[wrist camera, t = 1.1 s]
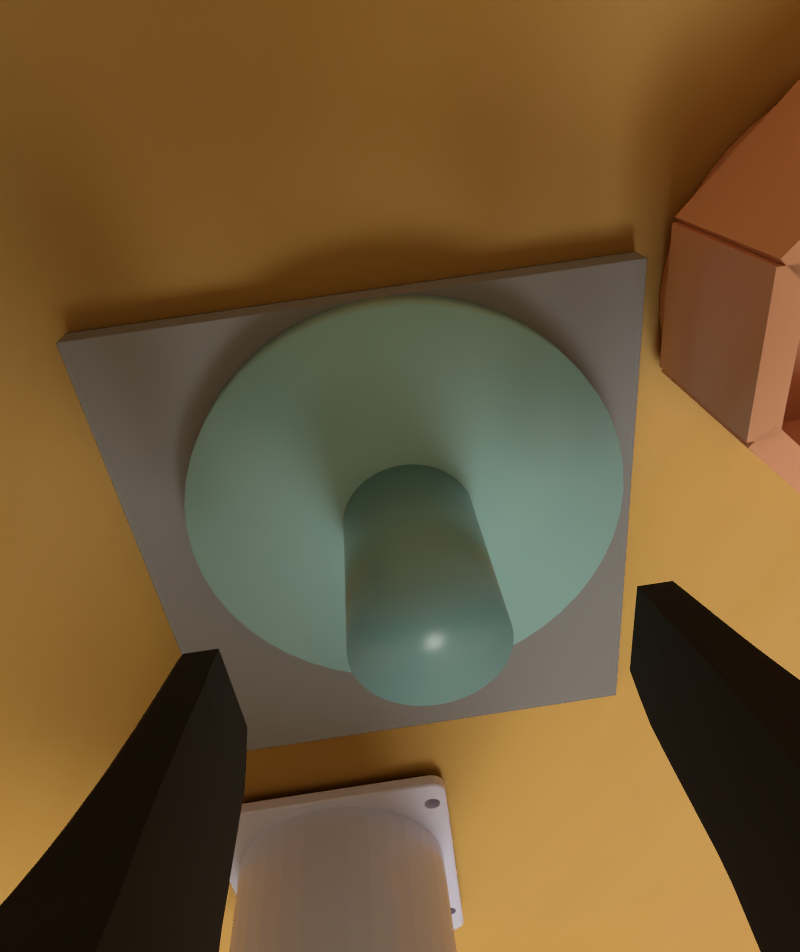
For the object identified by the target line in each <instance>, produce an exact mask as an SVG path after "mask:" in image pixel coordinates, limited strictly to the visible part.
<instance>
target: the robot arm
mask: <svg viewBox="0 0 800 952" xmlns="http://www.w3.org/2000/svg"><path fill="white" fill-rule="evenodd" d="M630 672H631V674H632V677H633V680H634V682H635V685H636V688H637V691H638V693H639V696H640V699H641V701H642V704H643V706H644V709H645V711H646V714H647V717H648V719H649V722H650V724H651V726H652V728H653V730H654V732H655V734H656V736H657V738H658V740H659V742H660V744H661V746H662V748H663V750H664V752H665V754H666V756H667V758H668V760H669V761H670V763H671V765H672V767H673V769H674V771H675V773H676V775H677V777H678V779H679V781H680V782H681V784H682V786H683V788H684V790H685V792H686V794H687V796H688V798H689V799H690V801H691V803H692V805H693V807H694V809H695V811H696V813H697V815H698V817H699V818H700V820H701V822H702V824H703V826H704V828H705V830H706V832H707V834H708V836H709V837H710V839H711V841H712V843H713V845H714V847H715V849H716V851H717V853H718V855H719V857H720V859H721V861H722V863H723V865H724V867H725V869H726V871H727V873H728V876H729V878H730V880H731V882H732V884H733V886H734V889H735V891H736V894H737V896H738V898H739V901H740V903H741V906H742V908H743V910H744V913H745V915H746V918H747V920H748V922H749V925H750V927H751V929H752V932H753V934H754V937H755V939H756V941H757V944H758V946H759V949H760V951H761V952H800V680H799V679H797V678H796V677H795V676H793V675H792V674H791V673H789V672H788V671H787V670H785V669H784V668H783V667H781V666H780V665H779V664H777V663H776V662H775V661H773V660H772V659H771V658H769V657H768V656H767V655H765V654H764V653H763V652H761V651H760V650H759V649H757V648H756V647H755V646H754V645H752V644H751V643H750V642H748V641H747V640H746V639H744V638H743V637H742V636H741V635H739V634H738V633H737V632H736V631H734V630H733V629H732V628H731V627H729V626H728V625H727V624H726V623H724V622H723V621H722V620H721V619H719V618H718V617H717V616H716V615H714V614H713V613H712V612H711V611H709V610H708V609H707V608H706V607H704V606H703V605H702V604H701V603H699V602H698V601H697V600H696V599H694V598H693V597H692V596H691V595H690V594H688V593H687V592H686V591H684V590H683V589H682V588H681V587H679V586H678V585H677V584H676V583H674V582H673V581H670V582H663V583H656V584H650V585H643V586H637V596H636V607H635V618H634V630H633V641H632V652H631V663H630ZM246 753H247V725H246V722H245V719H244V716H243V714H242V711H241V708H240V705H239V703H238V700H237V697H236V695H235V692H234V689H233V686H232V684H231V681H230V678H229V675H228V673H227V670H226V667H225V664H224V662H223V659H222V656H221V653H220V651H219V649H212V650H205V651H198V652H192V653H185V654H183V655H182V656H181V657H180V658H179V660H178V661H177V663H176V664H175V666H174V668H173V669H172V671H171V672H170V674H169V675H168V677H167V679H166V680H165V682H164V684H163V685H162V687H161V688H160V690H159V692H158V693H157V695H156V696H155V698H154V700H153V701H152V703H151V704H150V706H149V707H148V709H147V711H146V712H145V714H144V715H143V717H142V718H141V720H140V721H139V723H138V725H137V726H136V728H135V729H134V731H133V732H132V734H131V735H130V737H129V738H128V740H127V741H126V743H125V744H124V745H123V747H122V748H121V750H120V751H119V753H118V754H117V756H116V757H115V759H114V760H113V762H112V763H111V765H110V766H109V768H108V769H107V771H106V772H105V774H104V775H103V776H102V778H101V779H100V781H99V782H98V783H97V785H96V786H95V787H94V789H93V790H92V791H91V793H90V794H89V796H88V797H87V798H86V800H85V801H84V802H83V804H82V805H81V806H80V808H79V809H78V810H77V812H76V813H75V815H74V816H73V817H72V819H71V820H70V821H69V823H68V824H67V825H66V827H65V828H64V829H63V831H62V832H61V833H60V834H59V836H58V837H57V838H56V839H55V841H54V842H53V843H52V845H51V846H50V847H49V848H48V850H47V851H46V852H45V853H44V855H43V856H42V857H41V858H40V859H39V861H38V862H37V863H36V864H35V866H34V867H33V868H32V869H31V870H30V872H29V873H28V874H27V875H26V876H25V877H24V879H23V880H22V881H21V882H20V883H19V885H18V886H17V887H16V888H15V889H14V891H13V892H12V893H11V894H10V895H9V896H8V897H7V899H6V900H5V901H4V902H3V903H2V904H1V905H0V952H219V945H220V938H221V930H222V923H223V917H224V911H225V905H226V899H227V893H228V887H229V882H230V884H231V886H232V888H233V890H234V892H235V894H236V902H235V910H234V918H233V927H232V935H231V944H230V952H457V951H456V944H455V937H454V930H455V929H457V928H459V927H460V926H461V925H462V924H463V914H462V907H461V900H460V892H459V885H458V878H457V870H456V863H455V856H454V849H453V841H452V834H451V827H450V820H449V812H448V805H447V798H446V791H445V784H444V781H443V779H441V778H440V777H438V776H434V775H427V776H420V777H414V778H407V779H401V780H394V781H388V782H381V783H374V784H368V785H361V786H355V787H348V788H342V789H335V790H329V791H322V792H315V793H309V794H302V795H296V796H289V797H283V798H276V799H269V800H263V801H256V802H250V803H243V804H242V802H243V795H244V788H245V773H246Z"/></svg>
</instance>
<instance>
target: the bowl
mask: <svg viewBox="0 0 800 952" xmlns="http://www.w3.org/2000/svg"><path fill="white" fill-rule="evenodd" d="M675 217H676V218H677V219H678V220H679V221H680V222H675V223H672V232H671V244H670V248H669V252H668V255H667V259H666V263H665V266H664V270H663V276H662V283H661V290H660V310H659V318H660V327H661V335H662V346H661V357H660V367H661V368H662V370H661V371H662V372H663V373H664V374H665V375H666V376H667V377H669V378H670V379H671V380H672V381H673V382H674V383H675V384H676V385H678V386H679V387H680V388H681V389H682V390H683V391H684V392H685V393H687V394H688V395H689V396H690V397H691V398H692V399H693V400H694V401H696V402H697V403H698V404H699V405H700V406H701V407H702V408H703V409H705V410H706V411H707V412H708V413H709V414H710V415H711V416H712V417H714V418H715V419H716V420H717V421H718V422H719V423H720V424H721V425H723V426H724V427H725V428H726V429H727V430H728V431H729V432H730V433H732V434H733V435H734V436H735V437H736V438H737V439H738V440H739V441H740V442H742V443H743V444H744V445H745V446H746V447H747V448H748V449H750V450H751V451H752V452H753V453H754V454H755V455H756V456H758V457H759V458H760V459H761V460H762V461H763V462H764V463H766V464H767V465H768V466H769V467H770V468H771V469H772V470H774V471H775V472H776V473H777V474H778V475H779V476H781V477H782V478H783V479H784V480H785V481H786V482H787V483H789V484H790V485H791V486H792V487H793V488H794V489H795V490H797V491H798V492H799V493H800V79H799V80H798V81H797V82H796V84H795V85H794V86H793V87H792V88H791V89H790V90H789V91H788V92H787V94H786V95H785V96H784V97H783V98H782V99H781V100H780V101H779V102H778V103H777V105H776V106H774V107H773V108H772V109H770V110H769V111H768V112H767V113H766V114H764V115H763V116H762V117H761V118H759V119H758V120H757V121H756V122H755V123H753V124H752V125H751V126H750V127H749V128H748V129H747V130H746V131H745V132H744V133H743V134H742V135H741V136H740V137H739V138H738V139H737V140H736V141H735V142H734V143H733V144H732V145H731V146H730V147H729V148H728V149H727V150H726V152H725V153H724V154H723V155H722V156H721V158H720V159H719V160H718V161H717V163H716V164H715V165H714V166H713V167H712V169H711V170H710V171H709V173H708V174H707V176H706V177H705V179H704V180H703V182H702V183H701V185H700V186H699V188H698V189H697V191H696V192H695V194H694V195H693V197H692V198H691V199H690V201H689V202H688V203H687V204H686V205H685V206H684V207H683V208H682V209H681V210H680V212H679V213H678V214H677V215H676V216H675Z"/></svg>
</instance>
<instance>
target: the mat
mask: <svg viewBox="0 0 800 952" xmlns="http://www.w3.org/2000/svg"><path fill="white" fill-rule="evenodd" d="M646 266H647V258H646V257H644V256H642V255H640V254H639V253H637V252H630V253H623V254H616V255H609V256H602V257H595V258H588V259H581V260H574V261H567V262H560V263H553V264H546V265H539V266H532V267H525V268H518V269H511V270H504V271H497V272H490V273H483V274H477V275H470V276H463V277H456V278H449V279H442V280H435V281H428V282H421V283H414V284H407V285H400V286H393V287H386V288H379V289H372V290H365V291H358V292H351V293H344V294H337V295H330V296H323V297H316V298H309V299H302V300H295V301H288V302H281V303H274V304H267V305H260V306H253V307H247V308H240V309H233V310H226V311H219V312H212V313H205V314H198V315H191V316H184V317H177V318H170V319H163V320H156V321H149V322H142V323H135V324H128V325H121V326H114V327H107V328H100V329H93V330H86V331H79V332H72V333H66V334H65V335H64V336H63V337H62V338H61V339H60V340H59V341H58V342H57V343H56V345H57V347H58V350H59V352H60V354H61V357H62V359H63V362H64V364H65V367H66V369H67V372H68V374H69V377H70V379H71V382H72V384H73V387H74V389H75V392H76V394H77V397H78V399H79V401H80V404H81V406H82V409H83V411H84V414H85V416H86V419H87V421H88V424H89V426H90V429H91V431H92V434H93V436H94V439H95V441H96V444H97V446H98V449H99V451H100V453H101V456H102V458H103V461H104V463H105V466H106V468H107V471H108V473H109V476H110V478H111V481H112V483H113V486H114V488H115V491H116V493H117V496H118V498H119V500H120V503H121V505H122V508H123V510H124V513H125V515H126V518H127V520H128V523H129V525H130V528H131V530H132V533H133V535H134V538H135V540H136V543H137V545H138V547H139V550H140V552H141V555H142V557H143V560H144V562H145V565H146V567H147V570H148V572H149V575H150V577H151V580H152V582H153V585H154V587H155V590H156V592H157V594H158V597H159V599H160V602H161V604H162V607H163V609H164V612H165V614H166V617H167V619H168V622H169V624H170V627H171V629H172V632H173V634H174V637H175V639H176V642H177V644H178V646H179V649H180V651H181V654H182V655H183V654H185V653H192V652H198V651H205V650H212V649H219V651H220V653H221V656H222V659H223V662H224V664H225V667H226V670H227V673H228V675H229V678H230V681H231V684H232V686H233V689H234V692H235V695H236V697H237V700H238V703H239V705H240V708H241V711H242V714H243V716H244V719H245V722H246V725H247V751H250V750H257V749H263V748H270V747H276V746H283V745H290V744H296V743H303V742H309V741H316V740H323V739H329V738H336V737H342V736H349V735H356V734H362V733H369V732H375V731H382V730H389V729H395V728H402V727H408V726H415V725H422V724H428V723H435V722H441V721H448V720H455V719H461V718H468V717H474V716H481V715H488V714H494V713H501V712H507V711H514V710H521V709H527V708H534V707H540V706H547V705H554V704H560V703H567V702H573V701H580V700H587V699H593V698H600V697H606V696H613V695H616V686H617V672H618V658H619V644H620V630H621V616H622V602H623V588H624V574H625V560H626V546H627V532H628V518H629V504H630V490H631V476H632V462H633V448H634V434H635V420H636V406H637V392H638V378H639V364H640V350H641V336H642V322H643V308H644V294H645V280H646ZM409 294H411V295H430V296H444V297H449V298H454V299H460V300H465V301H470V302H474V303H477V304H480V305H483V306H486V307H489V308H492V309H495V310H498V311H501V312H503V313H505V314H507V315H509V316H511V317H513V318H515V319H517V320H519V321H521V322H523V323H525V324H527V325H529V326H530V327H532V328H533V329H535V330H536V331H537V332H539V333H540V334H542V335H543V336H545V337H546V338H547V339H549V340H550V341H552V342H553V343H554V344H555V345H556V346H557V347H558V348H559V349H560V350H561V351H562V352H563V353H564V354H565V355H566V356H567V357H568V358H569V359H570V360H571V361H572V362H573V363H574V364H575V365H576V367H577V368H578V369H579V370H580V371H581V372H582V374H583V375H584V376H585V378H586V379H587V380H588V381H589V383H590V384H591V385H592V387H593V388H594V389H595V391H596V392H597V393H598V395H599V396H600V398H601V400H602V402H603V404H604V406H605V407H606V409H607V411H608V413H609V415H610V417H611V419H612V422H613V425H614V428H615V431H616V434H617V437H618V440H619V444H620V449H621V455H622V461H623V486H624V490H623V497H622V504H621V511H620V516H619V519H618V522H617V526H616V529H615V533H614V536H613V538H612V540H611V543H610V545H609V547H608V549H607V552H606V554H605V556H604V558H603V560H602V561H601V563H600V565H599V566H598V568H597V569H596V571H595V573H594V574H593V576H592V578H591V579H590V580H589V581H588V583H587V584H586V585H585V586H584V588H583V589H582V590H581V591H580V593H579V594H578V595H577V596H576V597H575V598H574V599H573V600H572V601H571V602H570V603H569V604H568V605H567V606H566V607H565V608H564V609H563V610H562V611H561V612H560V613H559V614H558V615H557V616H556V617H554V618H553V619H552V620H551V621H549V622H548V623H547V624H546V625H544V626H543V627H542V628H540V629H539V630H537V631H536V632H534V633H533V634H531V635H530V636H528V637H527V638H525V639H524V640H522V641H520V642H518V643H516V644H514V645H513V648H512V652H511V655H510V657H509V660H508V661H507V663H506V665H505V666H504V668H503V669H502V670H501V672H500V673H499V674H498V675H497V676H496V677H495V678H494V679H493V680H492V681H491V682H490V683H488V684H487V685H486V686H485V687H483V688H481V689H480V690H478V691H477V692H475V693H473V694H471V695H469V696H467V697H464V698H462V699H459V700H456V701H452V702H449V703H444V704H439V705H430V706H413V705H404V704H398V703H395V702H391V701H388V700H385V699H383V698H380V697H378V696H377V695H375V694H373V693H371V692H370V691H369V690H367V689H366V688H365V687H364V686H362V685H361V684H360V683H359V682H358V680H357V679H356V678H355V676H354V675H353V673H351V672H346V671H340V670H335V669H331V668H327V667H324V666H321V665H317V664H314V663H310V662H308V661H305V660H303V659H300V658H298V657H295V656H293V655H290V654H288V653H286V652H284V651H282V650H281V649H279V648H277V647H275V646H273V645H271V644H270V643H268V642H266V641H265V640H263V639H262V638H260V637H259V636H258V635H256V634H255V633H253V632H252V631H251V630H249V629H248V628H247V627H245V626H244V625H243V624H242V623H241V622H240V621H239V620H238V619H237V618H236V617H234V616H233V615H232V614H231V613H230V612H229V611H228V609H227V608H226V607H225V606H224V605H223V603H222V602H221V601H220V600H219V599H218V598H217V596H216V595H215V594H214V592H213V591H212V589H211V587H210V586H209V584H208V583H207V581H206V579H205V578H204V576H203V575H202V572H201V570H200V568H199V566H198V563H197V561H196V559H195V556H194V554H193V551H192V547H191V544H190V540H189V536H188V532H187V527H186V517H185V507H184V502H185V485H186V477H187V472H188V468H189V463H190V459H191V455H192V452H193V449H194V447H195V444H196V441H197V439H198V436H199V434H200V431H201V429H202V426H203V424H204V421H205V419H206V416H207V413H208V412H209V410H210V408H211V406H212V405H213V403H214V401H215V400H216V398H217V396H218V395H219V393H220V391H221V389H222V388H223V387H224V386H225V384H226V383H227V382H228V381H229V379H230V378H231V377H232V376H233V375H234V373H235V372H236V371H237V370H238V368H239V367H240V366H241V365H242V364H243V363H244V362H245V361H247V360H248V359H249V358H250V357H251V356H252V355H253V354H254V353H255V352H256V351H257V350H258V349H260V348H261V347H262V346H263V345H265V344H266V343H267V342H269V341H270V340H272V339H273V338H275V337H276V336H277V335H279V334H280V333H282V332H283V331H285V330H286V329H288V328H290V327H292V326H294V325H296V324H298V323H299V322H301V321H303V320H305V319H307V318H309V317H311V316H313V315H315V314H318V313H321V312H324V311H326V310H329V309H332V308H335V307H338V306H341V305H343V304H347V303H351V302H356V301H361V300H366V299H370V298H375V297H383V296H396V295H409Z"/></svg>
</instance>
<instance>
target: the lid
mask: <svg viewBox="0 0 800 952" xmlns="http://www.w3.org/2000/svg"><path fill="white" fill-rule="evenodd" d="M623 490H624V486H623V461H622V455H621V449H620V444H619V440H618V437H617V434H616V431H615V428H614V425H613V422H612V419H611V417H610V415H609V413H608V411H607V409H606V407H605V406H604V404H603V402H602V400H601V398H600V396H599V395H598V393H597V392H596V391H595V389H594V388H593V387H592V385H591V384H590V383H589V381H588V380H587V379H586V378H585V376H584V375H583V374H582V372H581V371H580V370H579V369H578V368H577V367H576V365H575V364H574V363H573V362H572V361H571V360H570V359H569V358H568V357H567V356H566V355H565V354H564V353H563V352H562V351H561V350H560V349H559V348H558V347H557V346H556V345H555V344H554V343H553V342H552V341H550V340H549V339H547V338H546V337H545V336H543V335H542V334H540V333H539V332H537V331H536V330H535V329H533V328H532V327H530V326H529V325H527V324H525V323H523V322H521V321H519V320H517V319H515V318H513V317H511V316H509V315H507V314H505V313H503V312H501V311H498V310H495V309H492V308H489V307H486V306H483V305H480V304H477V303H474V302H470V301H465V300H460V299H454V298H449V297H444V296H430V295H411V294H409V295H396V296H383V297H375V298H370V299H366V300H361V301H356V302H351V303H347V304H343V305H341V306H338V307H335V308H332V309H329V310H326V311H324V312H321V313H318V314H315V315H313V316H311V317H309V318H307V319H305V320H303V321H301V322H299V323H298V324H296V325H294V326H292V327H290V328H288V329H286V330H285V331H283V332H282V333H280V334H279V335H277V336H276V337H275V338H273V339H272V340H270V341H269V342H267V343H266V344H265V345H263V346H262V347H261V348H260V349H258V350H257V351H256V352H255V353H254V354H253V355H252V356H251V357H250V358H249V359H248V360H247V361H245V362H244V363H243V364H242V365H241V366H240V367H239V368H238V370H237V371H236V372H235V373H234V375H233V376H232V377H231V378H230V379H229V381H228V382H227V383H226V384H225V386H224V387H223V388H222V389H221V391H220V393H219V395H218V396H217V398H216V400H215V401H214V403H213V405H212V406H211V408H210V410H209V412H208V413H207V416H206V419H205V421H204V424H203V426H202V429H201V431H200V434H199V436H198V439H197V441H196V444H195V447H194V449H193V452H192V455H191V459H190V463H189V468H188V472H187V477H186V485H185V502H184V507H185V517H186V527H187V532H188V536H189V540H190V544H191V547H192V551H193V554H194V556H195V559H196V561H197V563H198V566H199V568H200V570H201V572H202V575H203V576H204V578H205V579H206V581H207V583H208V584H209V586H210V587H211V589H212V591H213V592H214V594H215V595H216V596H217V598H218V599H219V600H220V601H221V602H222V603H223V605H224V606H225V607H226V608H227V609H228V611H229V612H230V613H231V614H232V615H233V616H234V617H236V618H237V619H238V620H239V621H240V622H241V623H242V624H243V625H244V626H245V627H247V628H248V629H249V630H251V631H252V632H253V633H255V634H256V635H258V636H259V637H260V638H262V639H263V640H265V641H266V642H268V643H270V644H271V645H273V646H275V647H277V648H279V649H281V650H282V651H284V652H286V653H288V654H290V655H293V656H295V657H298V658H300V659H303V660H305V661H308V662H310V663H314V664H317V665H321V666H324V667H327V668H331V669H335V670H340V671H346V672H351V673H353V675H354V676H355V678H356V679H357V680H358V682H359V683H360V684H361V685H362V686H364V687H365V688H366V689H367V690H369V691H370V692H371V693H373V694H375V695H377V696H378V697H380V698H383V699H385V700H388V701H391V702H395V703H398V704H404V705H413V706H430V705H439V704H444V703H449V702H452V701H456V700H459V699H462V698H464V697H467V696H469V695H471V694H473V693H475V692H477V691H478V690H480V689H481V688H483V687H485V686H486V685H487V684H488V683H490V682H491V681H492V680H493V679H494V678H495V677H496V676H497V675H498V674H499V673H500V672H501V670H502V669H503V668H504V666H505V665H506V663H507V661H508V660H509V657H510V655H511V652H512V648H513V645H514V644H516V643H518V642H520V641H522V640H524V639H525V638H527V637H528V636H530V635H531V634H533V633H534V632H536V631H537V630H539V629H540V628H542V627H543V626H544V625H546V624H547V623H548V622H549V621H551V620H552V619H553V618H554V617H556V616H557V615H558V614H559V613H560V612H561V611H562V610H563V609H564V608H565V607H566V606H567V605H568V604H569V603H570V602H571V601H572V600H573V599H574V598H575V597H576V596H577V595H578V594H579V593H580V591H581V590H582V589H583V588H584V586H585V585H586V584H587V583H588V581H589V580H590V579H591V578H592V576H593V574H594V573H595V571H596V569H597V568H598V566H599V565H600V563H601V561H602V560H603V558H604V556H605V554H606V552H607V549H608V547H609V545H610V543H611V540H612V538H613V536H614V533H615V529H616V526H617V522H618V519H619V516H620V511H621V504H622V497H623Z"/></svg>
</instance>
